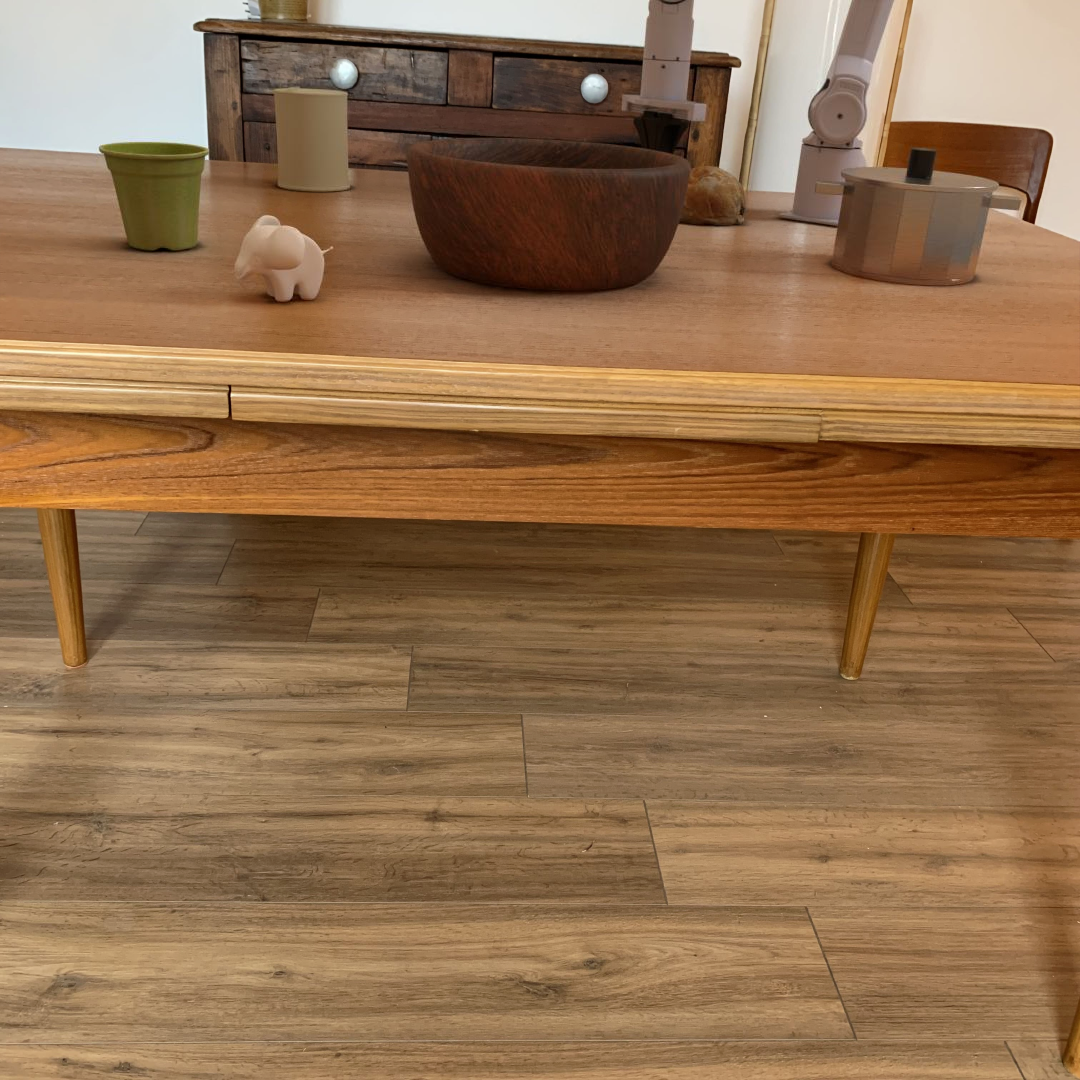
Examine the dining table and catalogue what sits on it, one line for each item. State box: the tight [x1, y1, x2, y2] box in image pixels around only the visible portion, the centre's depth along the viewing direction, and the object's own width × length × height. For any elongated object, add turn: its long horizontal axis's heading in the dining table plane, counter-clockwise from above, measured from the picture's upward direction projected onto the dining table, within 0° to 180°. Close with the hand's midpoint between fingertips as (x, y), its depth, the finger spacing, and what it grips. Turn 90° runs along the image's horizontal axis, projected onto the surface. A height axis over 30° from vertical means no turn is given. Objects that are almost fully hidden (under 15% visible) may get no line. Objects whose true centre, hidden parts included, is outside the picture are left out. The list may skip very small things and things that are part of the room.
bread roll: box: [679, 165, 747, 226], centre depth 132 cm, size 10×10×8 cm
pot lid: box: [841, 147, 1000, 193], centre depth 105 cm, size 15×15×4 cm
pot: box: [815, 179, 1022, 286], centre depth 107 cm, size 14×19×8 cm
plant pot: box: [98, 141, 210, 252], centre depth 100 cm, size 9×9×9 cm
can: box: [273, 86, 351, 193], centre depth 139 cm, size 9×9×12 cm
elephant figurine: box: [230, 214, 334, 303], centre depth 84 cm, size 7×8×6 cm
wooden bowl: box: [406, 137, 692, 291], centre depth 98 cm, size 25×25×10 cm
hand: (655, 177), depth 139 cm, fingers closed
